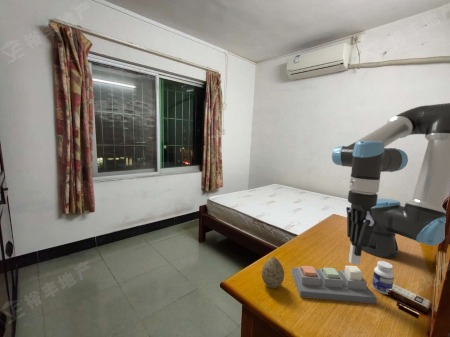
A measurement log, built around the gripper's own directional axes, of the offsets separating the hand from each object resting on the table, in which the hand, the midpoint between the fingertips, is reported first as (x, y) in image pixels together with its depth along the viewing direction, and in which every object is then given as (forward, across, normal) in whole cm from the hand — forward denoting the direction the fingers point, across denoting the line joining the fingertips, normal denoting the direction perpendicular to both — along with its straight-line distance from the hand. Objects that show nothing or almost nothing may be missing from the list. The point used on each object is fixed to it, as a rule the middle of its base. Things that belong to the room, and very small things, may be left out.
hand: (354, 262), depth 68 cm
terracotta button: (+7, 0, -14) cm, 15 cm away
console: (+9, 0, -7) cm, 11 cm away
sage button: (+7, 0, -7) cm, 9 cm away
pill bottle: (+9, -1, +10) cm, 14 cm away
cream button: (+5, 0, 0) cm, 5 cm away
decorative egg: (+10, +2, -26) cm, 28 cm away
